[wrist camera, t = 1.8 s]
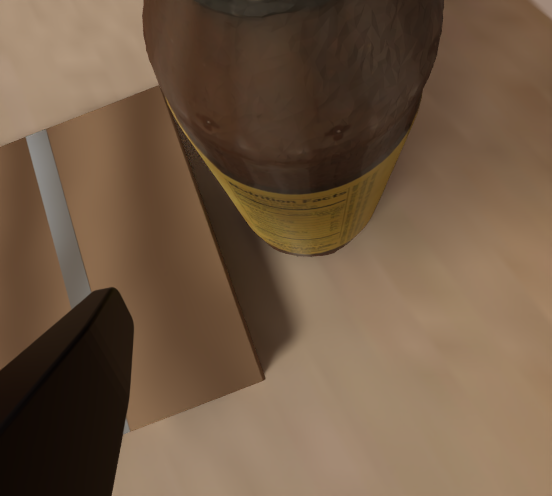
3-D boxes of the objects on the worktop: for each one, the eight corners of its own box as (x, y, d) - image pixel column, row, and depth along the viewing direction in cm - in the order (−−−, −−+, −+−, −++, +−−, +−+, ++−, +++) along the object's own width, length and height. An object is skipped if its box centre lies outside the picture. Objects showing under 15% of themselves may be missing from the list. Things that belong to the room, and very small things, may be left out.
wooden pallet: (175, 112, 23) (158, 85, 21) (269, 375, 20) (262, 381, 18) (-112, 223, 23) (-163, 209, 21) (-62, 502, 20) (-115, 525, 18)
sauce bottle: (282, 119, 23) (82, -1223, 3) (395, 173, 22) (1130, -1349, 2) (217, 228, 22) (-594, -703, 2) (332, 291, 21) (607, -476, 1)
